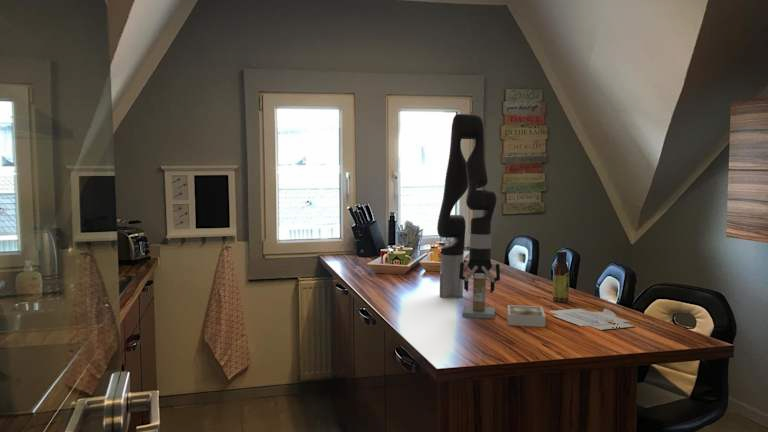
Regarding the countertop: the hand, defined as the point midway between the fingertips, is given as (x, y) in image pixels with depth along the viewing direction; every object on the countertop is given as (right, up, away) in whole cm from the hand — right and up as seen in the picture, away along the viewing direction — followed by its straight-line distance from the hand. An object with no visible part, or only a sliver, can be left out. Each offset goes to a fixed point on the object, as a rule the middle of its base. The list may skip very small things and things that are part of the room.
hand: (479, 291), depth 215 cm
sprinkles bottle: (0, -7, +1) cm, 7 cm away
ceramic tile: (0, -8, +1) cm, 8 cm away
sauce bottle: (+36, -7, +24) cm, 44 cm away
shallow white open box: (+15, -9, -8) cm, 19 cm away
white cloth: (+38, -10, -5) cm, 39 cm away
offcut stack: (+13, -9, -12) cm, 20 cm away
